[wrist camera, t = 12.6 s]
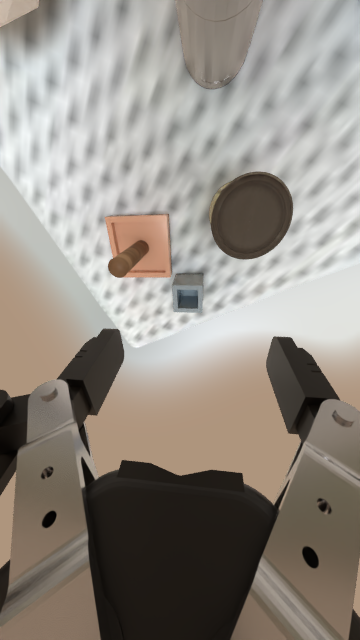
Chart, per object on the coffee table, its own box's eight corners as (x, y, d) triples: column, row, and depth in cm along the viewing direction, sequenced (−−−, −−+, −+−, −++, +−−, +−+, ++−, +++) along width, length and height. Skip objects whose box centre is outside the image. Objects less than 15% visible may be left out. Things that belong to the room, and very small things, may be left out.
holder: (176, 273, 46) (172, 285, 40) (203, 273, 46) (202, 285, 40) (177, 297, 49) (173, 311, 43) (202, 298, 49) (202, 312, 43)
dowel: (133, 240, 42) (106, 258, 30) (148, 240, 42) (125, 258, 30) (135, 255, 44) (110, 277, 32) (149, 254, 44) (128, 277, 32)
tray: (109, 215, 41) (104, 217, 39) (168, 214, 40) (166, 215, 38) (120, 273, 48) (117, 277, 46) (171, 273, 46) (170, 277, 44)
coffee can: (267, 232, 40) (294, 248, 28) (214, 246, 42) (218, 267, 30) (262, 169, 35) (292, 157, 23) (203, 190, 37) (203, 188, 25)
